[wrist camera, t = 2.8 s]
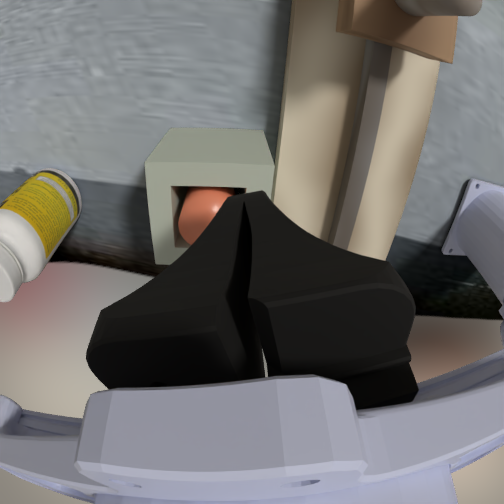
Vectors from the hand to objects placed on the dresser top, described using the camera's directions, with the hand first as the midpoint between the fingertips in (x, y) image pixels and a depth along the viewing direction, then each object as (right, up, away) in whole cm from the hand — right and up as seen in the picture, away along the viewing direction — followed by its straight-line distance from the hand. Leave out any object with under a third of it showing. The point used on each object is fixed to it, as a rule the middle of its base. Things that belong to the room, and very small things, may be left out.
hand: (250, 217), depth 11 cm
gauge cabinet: (-2, +4, +10) cm, 11 cm away
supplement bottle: (-16, +3, +10) cm, 19 cm away
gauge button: (-2, +2, +6) cm, 7 cm away
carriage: (+8, +13, 0) cm, 15 cm away
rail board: (+7, +8, +7) cm, 13 cm away
